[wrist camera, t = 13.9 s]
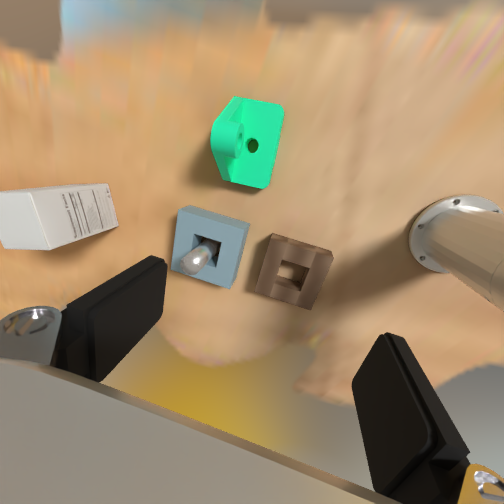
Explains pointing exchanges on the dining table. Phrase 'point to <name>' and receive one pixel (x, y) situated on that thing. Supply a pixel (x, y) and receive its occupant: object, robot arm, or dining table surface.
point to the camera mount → (247, 141)
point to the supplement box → (54, 215)
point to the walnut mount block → (299, 254)
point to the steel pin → (199, 256)
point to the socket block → (217, 228)
